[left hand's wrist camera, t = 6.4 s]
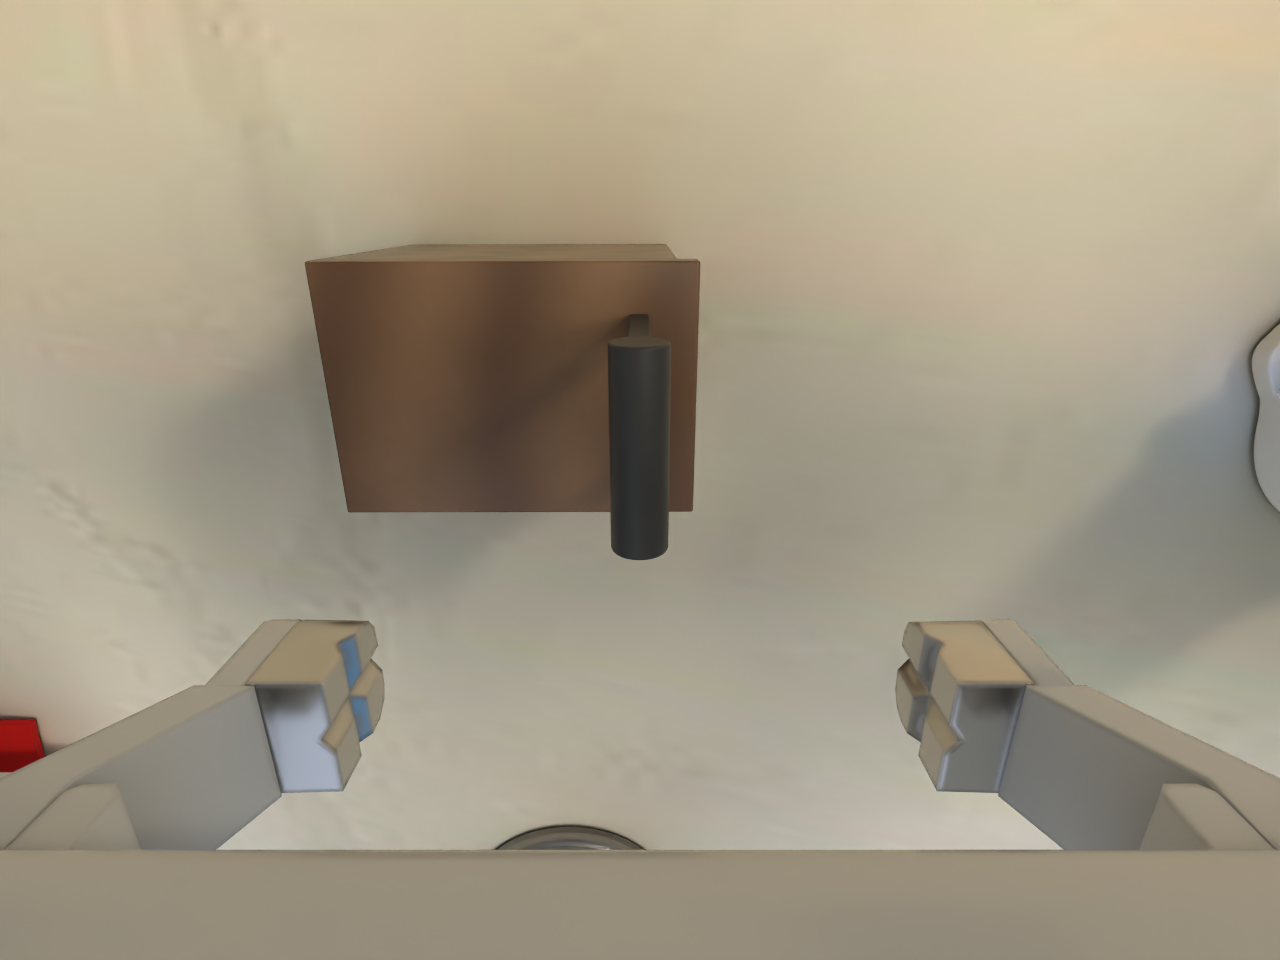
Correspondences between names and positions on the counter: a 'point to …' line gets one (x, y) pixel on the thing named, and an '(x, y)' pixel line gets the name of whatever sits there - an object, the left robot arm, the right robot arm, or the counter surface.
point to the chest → (517, 252)
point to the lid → (514, 386)
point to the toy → (18, 745)
